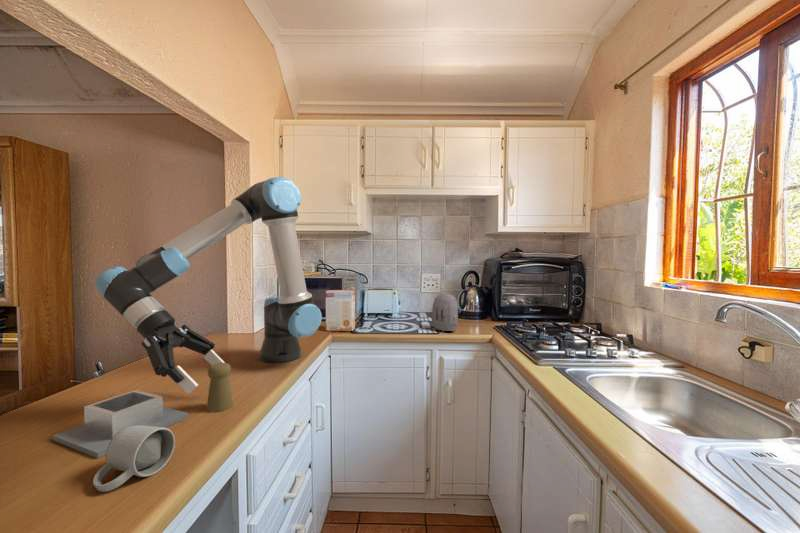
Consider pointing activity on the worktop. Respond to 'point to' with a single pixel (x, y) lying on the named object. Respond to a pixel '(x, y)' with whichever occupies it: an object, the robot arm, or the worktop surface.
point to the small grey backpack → (445, 312)
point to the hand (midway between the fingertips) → (210, 379)
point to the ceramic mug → (136, 454)
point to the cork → (219, 388)
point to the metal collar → (122, 412)
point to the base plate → (98, 443)
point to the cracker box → (340, 310)
